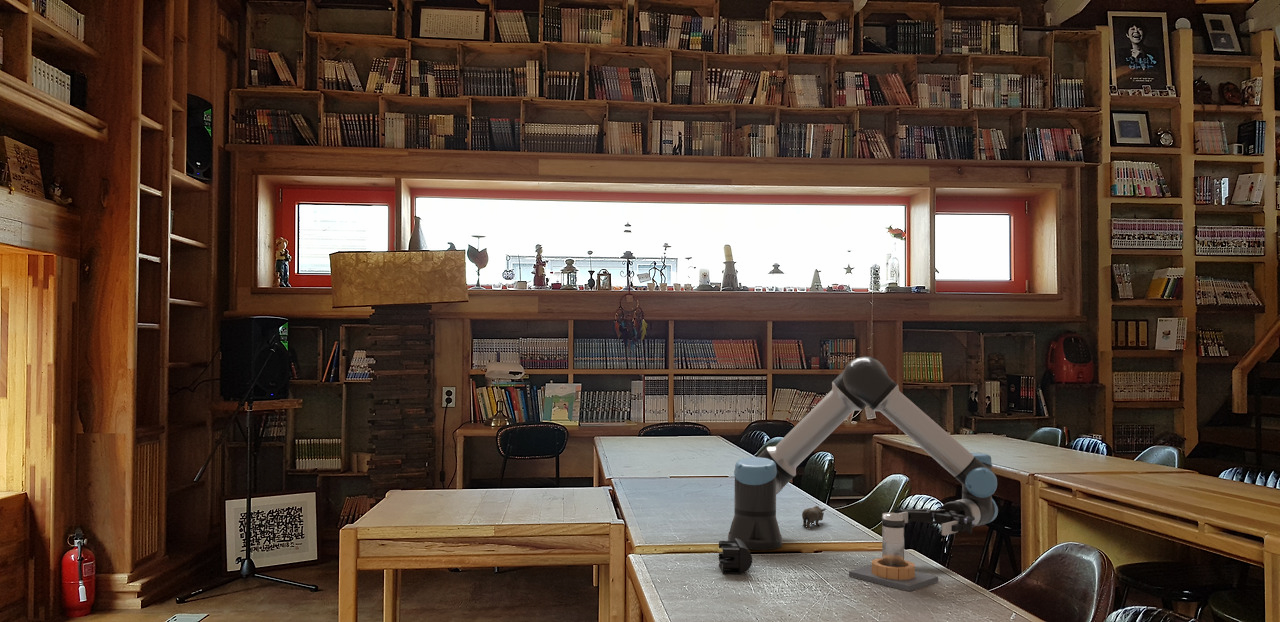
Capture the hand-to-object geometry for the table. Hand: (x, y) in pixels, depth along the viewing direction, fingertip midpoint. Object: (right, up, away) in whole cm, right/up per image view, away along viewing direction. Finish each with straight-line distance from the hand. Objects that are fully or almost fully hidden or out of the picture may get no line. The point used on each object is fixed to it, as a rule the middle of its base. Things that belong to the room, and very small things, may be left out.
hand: (917, 524), depth 201 cm
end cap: (-46, -11, -2) cm, 47 cm away
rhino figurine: (-14, -15, +53) cm, 57 cm away
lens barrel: (-8, -10, -8) cm, 15 cm away
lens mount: (-9, -11, -8) cm, 16 cm away
